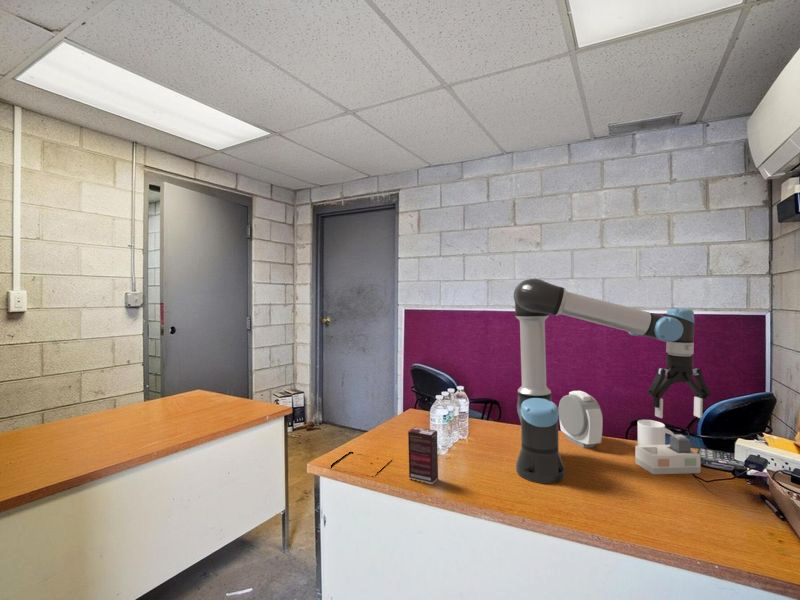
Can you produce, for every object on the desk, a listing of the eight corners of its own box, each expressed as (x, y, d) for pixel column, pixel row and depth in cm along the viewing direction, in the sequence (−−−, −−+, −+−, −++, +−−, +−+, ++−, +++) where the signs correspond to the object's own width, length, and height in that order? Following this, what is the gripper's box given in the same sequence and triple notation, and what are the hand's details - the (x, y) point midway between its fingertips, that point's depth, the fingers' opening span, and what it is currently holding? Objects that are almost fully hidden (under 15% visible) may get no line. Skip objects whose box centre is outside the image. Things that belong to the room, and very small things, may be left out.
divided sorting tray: (653, 474, 128) (653, 456, 127) (635, 462, 137) (635, 445, 137) (701, 473, 128) (701, 455, 128) (680, 461, 137) (679, 444, 137)
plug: (670, 459, 135) (670, 433, 134) (681, 458, 135) (681, 433, 135) (678, 464, 131) (678, 438, 130) (690, 464, 131) (690, 437, 131)
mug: (678, 459, 139) (678, 429, 139) (639, 454, 144) (639, 425, 143) (673, 450, 147) (673, 422, 146) (636, 446, 151) (636, 418, 151)
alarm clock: (605, 449, 148) (605, 396, 148) (586, 452, 146) (586, 398, 146) (573, 433, 166) (573, 385, 165) (556, 435, 164) (555, 387, 163)
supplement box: (438, 479, 127) (438, 430, 127) (432, 485, 123) (432, 435, 122) (414, 473, 131) (414, 426, 131) (408, 479, 127) (407, 430, 127)
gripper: (651, 356, 128) (649, 420, 128) (725, 356, 129) (723, 420, 129) (636, 352, 135) (635, 413, 136) (706, 352, 136) (705, 413, 137)
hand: (678, 417), depth 133 cm, fingers open, 13 cm apart
